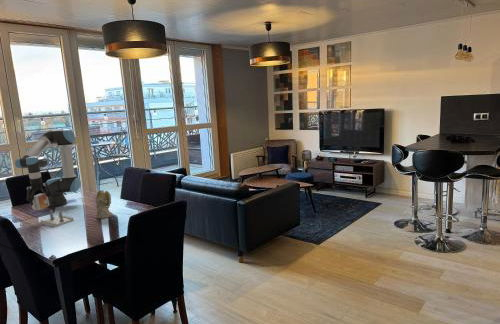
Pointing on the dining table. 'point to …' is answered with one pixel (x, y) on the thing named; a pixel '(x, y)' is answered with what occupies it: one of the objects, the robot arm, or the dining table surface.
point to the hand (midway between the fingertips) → (41, 207)
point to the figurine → (103, 204)
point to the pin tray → (57, 220)
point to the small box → (40, 201)
